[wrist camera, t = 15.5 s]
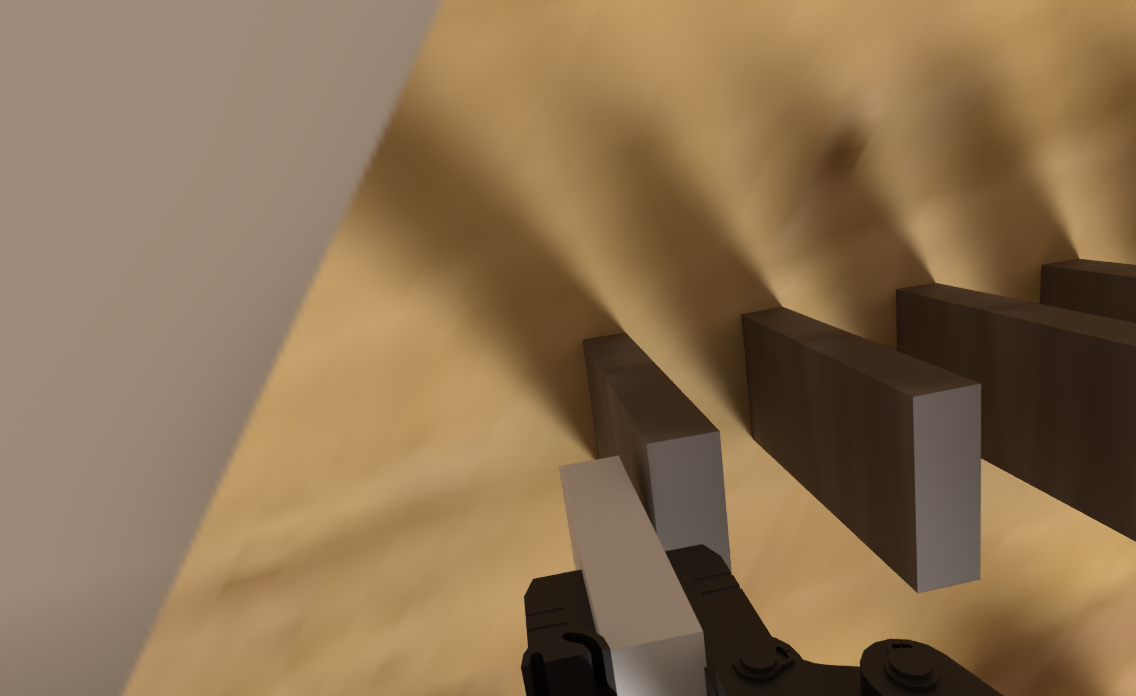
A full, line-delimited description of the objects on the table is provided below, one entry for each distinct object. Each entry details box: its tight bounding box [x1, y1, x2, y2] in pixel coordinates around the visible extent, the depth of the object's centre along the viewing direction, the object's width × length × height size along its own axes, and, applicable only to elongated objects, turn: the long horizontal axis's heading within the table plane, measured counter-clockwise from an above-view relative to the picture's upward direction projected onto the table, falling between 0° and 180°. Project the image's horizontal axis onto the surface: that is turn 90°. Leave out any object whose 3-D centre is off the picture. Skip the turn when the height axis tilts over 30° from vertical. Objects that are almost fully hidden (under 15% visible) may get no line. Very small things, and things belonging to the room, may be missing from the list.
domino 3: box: [896, 283, 1136, 541], centre depth 20 cm, size 2×5×10 cm, turn 8°
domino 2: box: [741, 307, 981, 593], centre depth 20 cm, size 2×5×10 cm, turn 9°
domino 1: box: [583, 333, 732, 574], centre depth 19 cm, size 2×5×10 cm, turn 8°
